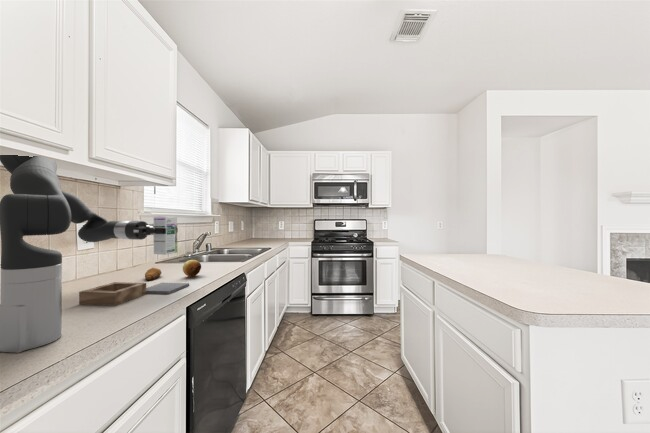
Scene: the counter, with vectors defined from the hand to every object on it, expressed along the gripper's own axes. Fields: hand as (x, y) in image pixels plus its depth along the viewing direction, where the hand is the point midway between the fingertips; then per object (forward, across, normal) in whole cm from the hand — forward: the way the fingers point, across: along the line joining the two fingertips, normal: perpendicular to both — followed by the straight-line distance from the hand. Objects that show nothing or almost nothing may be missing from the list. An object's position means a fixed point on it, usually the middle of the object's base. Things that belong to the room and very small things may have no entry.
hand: (171, 230), depth 103 cm
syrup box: (-2, 0, +9) cm, 10 cm away
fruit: (-5, +22, +23) cm, 32 cm away
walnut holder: (-11, -13, +23) cm, 29 cm away
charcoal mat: (-2, 0, +23) cm, 23 cm away
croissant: (-21, +18, +24) cm, 37 cm away
